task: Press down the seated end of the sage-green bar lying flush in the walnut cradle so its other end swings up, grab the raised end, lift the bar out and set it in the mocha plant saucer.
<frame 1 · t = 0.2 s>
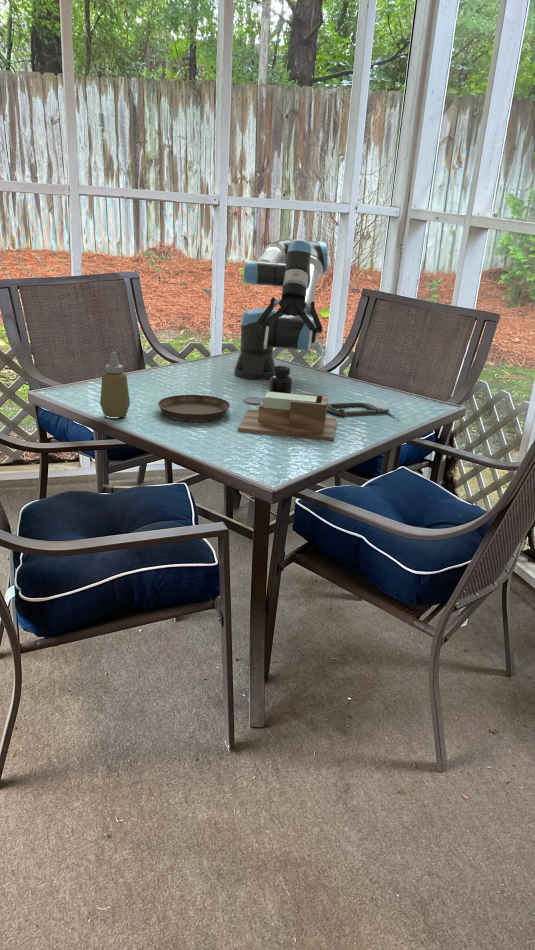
hand: (286, 349, 205), 16 cm above the table, tool tilted 35°, fingers open, 13 cm apart
squeeze bottle: (115, 417, 185), on the table
plant saucer: (194, 414, 193), on the table
cradle: (288, 425, 187), on the table
supplement bottle: (279, 406, 205), on the table
c clamp: (357, 414, 204), on the table
bar: (290, 407, 185), point 5 cm above the table, touching cradle
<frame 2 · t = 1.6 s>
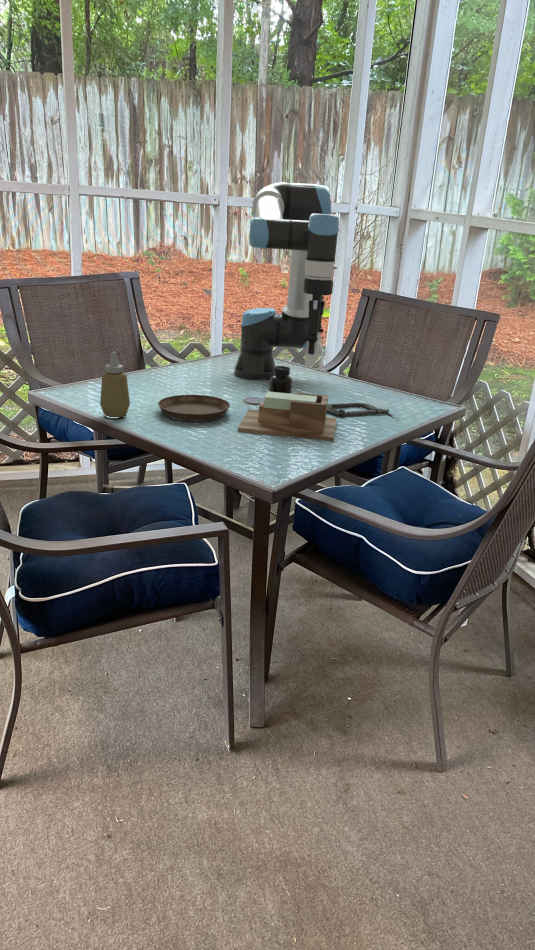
hand: (311, 361, 179), 19 cm above the table, tool pointing down, fingers open, 12 cm apart
nothing on the table moved.
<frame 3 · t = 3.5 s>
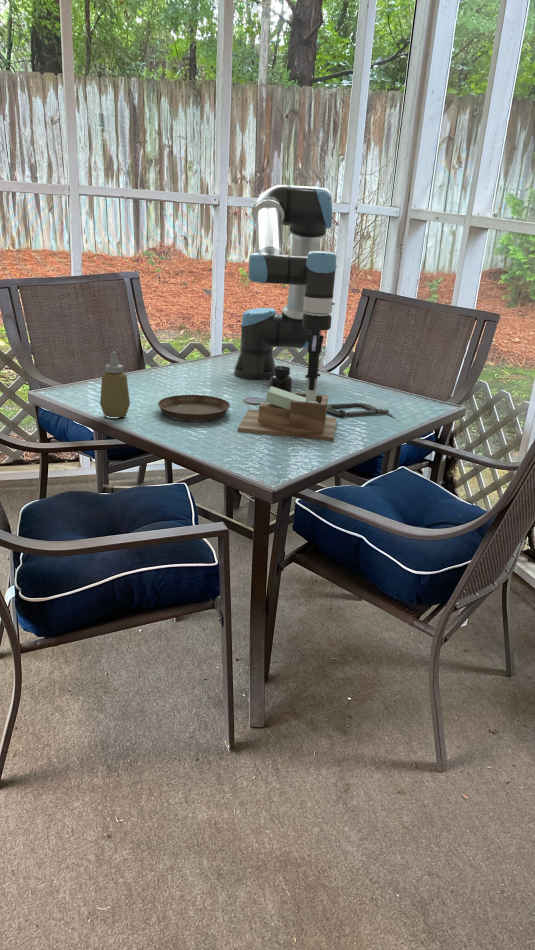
hand: (310, 400, 183), 8 cm above the table, tool pointing down, fingers closed
bar: (290, 406, 185), point 6 cm above the table, tilted 13°, touching cradle, gripper
everything else where it was.
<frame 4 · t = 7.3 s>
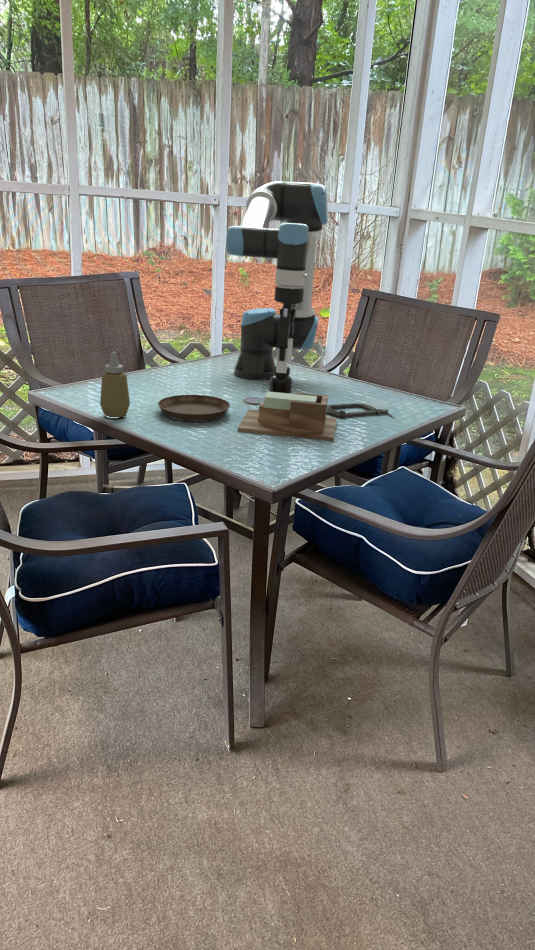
hand: (283, 367, 181), 17 cm above the table, tool pointing down, fingers open, 13 cm apart
bar: (290, 407, 185), point 5 cm above the table, touching cradle
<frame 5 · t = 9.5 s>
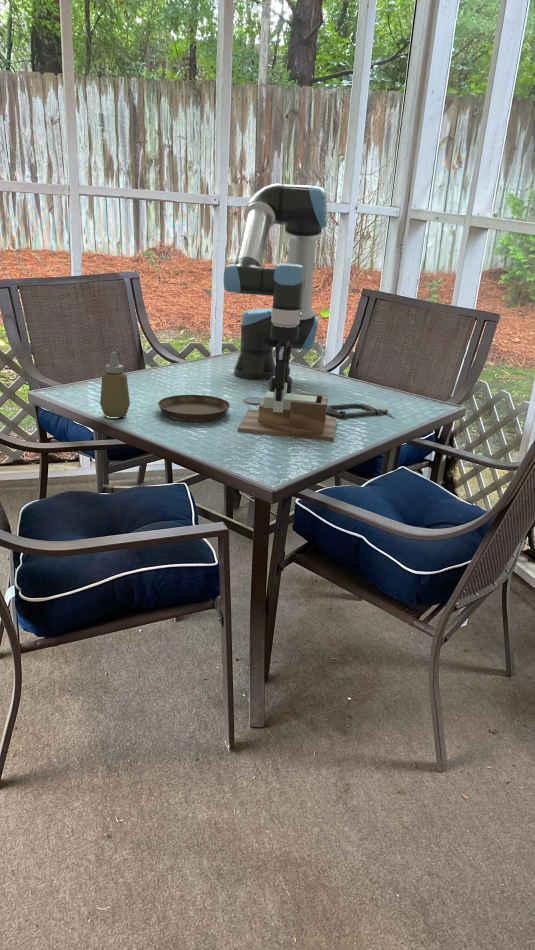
hand: (279, 408, 185), 5 cm above the table, tool pointing down, fingers closed on bar, 6 cm apart
bar: (290, 407, 185), point 5 cm above the table, touching cradle, gripper
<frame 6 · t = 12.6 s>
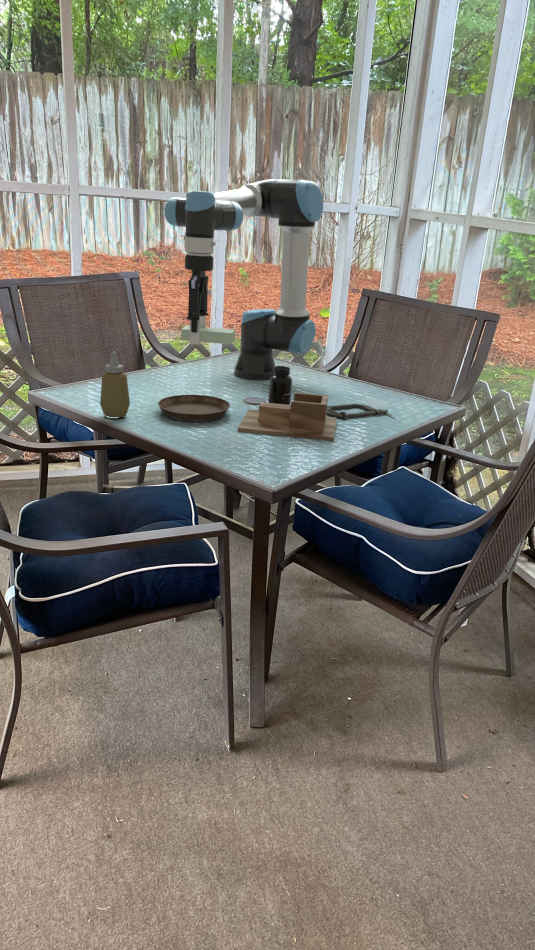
hand: (197, 341, 184), 21 cm above the table, tool pointing down, fingers closed on bar, 6 cm apart
bar: (208, 340, 184), point 21 cm above the table, touching gripper
when the fingers open (8 cm above the table, at t = 14.5 s): bar drops 6 cm, resting on plant saucer.
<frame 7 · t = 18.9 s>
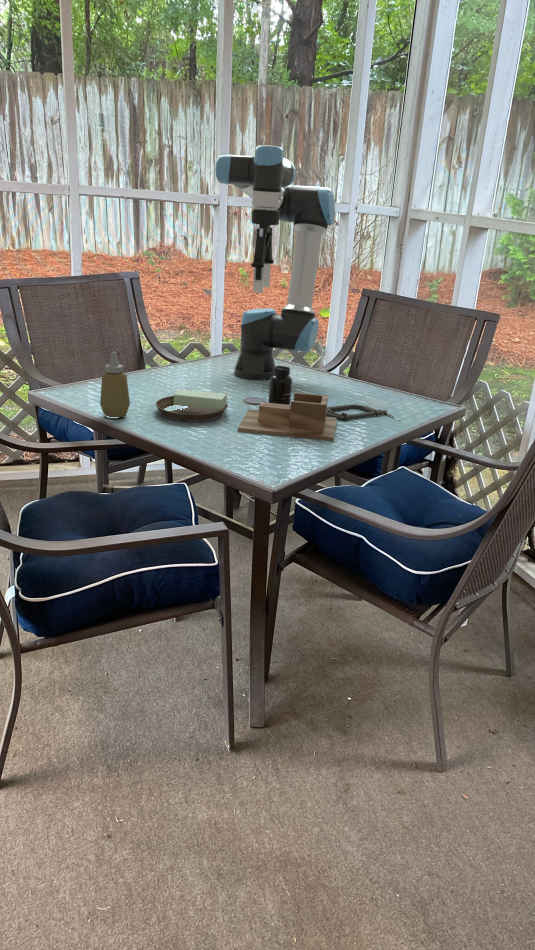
hand: (261, 289, 189), 35 cm above the table, tool pointing down, fingers open, 13 cm apart
plant saucer: (191, 415, 193), on the table, touching bar
bar: (200, 404, 191), point 3 cm above the table, touching plant saucer
at the end: bar 2.5 cm from the plant saucer (horizontally); bar point 2.9 cm above the table; the gripper is holding nothing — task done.
